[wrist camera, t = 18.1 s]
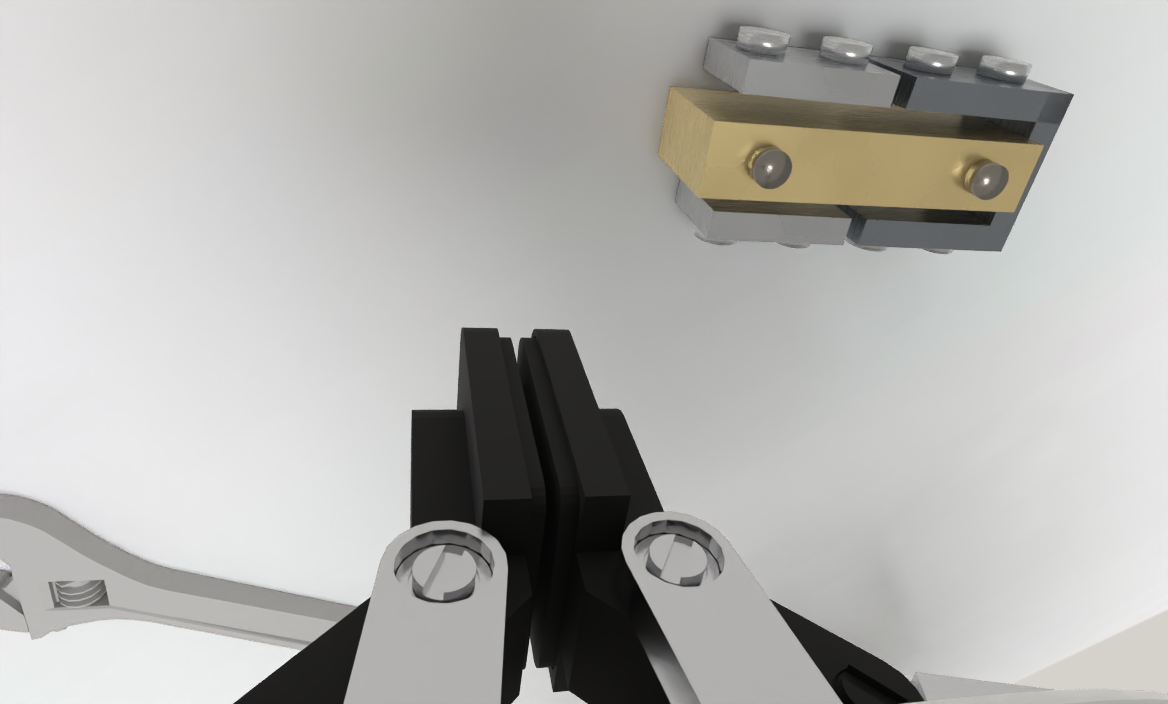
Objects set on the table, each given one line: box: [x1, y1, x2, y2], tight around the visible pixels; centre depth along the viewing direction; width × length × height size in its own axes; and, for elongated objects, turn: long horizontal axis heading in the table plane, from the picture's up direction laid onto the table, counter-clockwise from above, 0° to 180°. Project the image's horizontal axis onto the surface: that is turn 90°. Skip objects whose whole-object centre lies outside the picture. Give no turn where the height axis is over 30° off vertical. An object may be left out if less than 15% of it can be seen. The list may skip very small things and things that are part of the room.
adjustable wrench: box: [0, 494, 357, 650], centre depth 34 cm, size 25×6×2 cm, turn 52°
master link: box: [658, 87, 1044, 212], centre depth 26 cm, size 2×12×5 cm, turn 82°
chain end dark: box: [833, 46, 1074, 254], centre depth 27 cm, size 7×6×4 cm
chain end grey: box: [675, 26, 901, 248], centre depth 26 cm, size 7×5×4 cm
